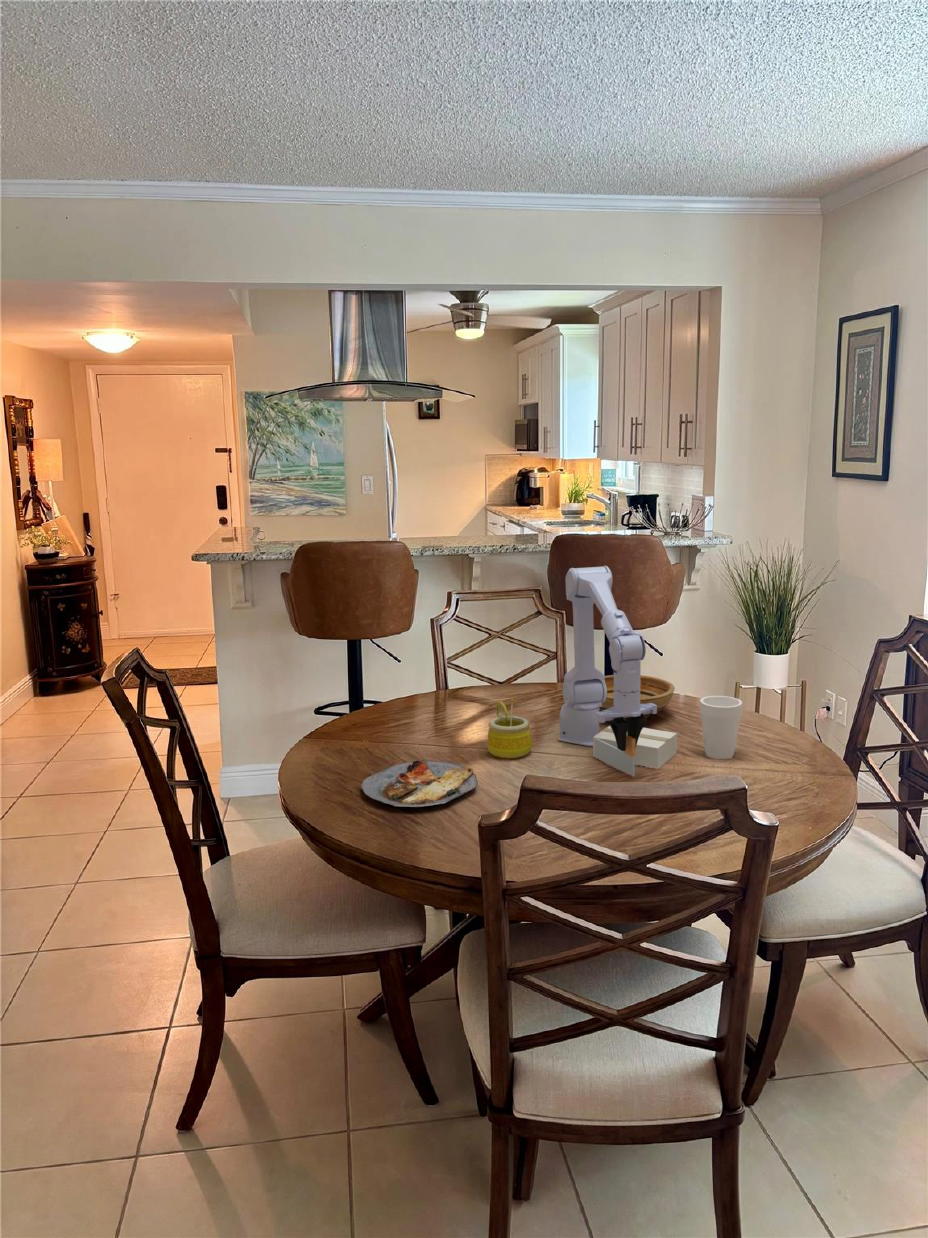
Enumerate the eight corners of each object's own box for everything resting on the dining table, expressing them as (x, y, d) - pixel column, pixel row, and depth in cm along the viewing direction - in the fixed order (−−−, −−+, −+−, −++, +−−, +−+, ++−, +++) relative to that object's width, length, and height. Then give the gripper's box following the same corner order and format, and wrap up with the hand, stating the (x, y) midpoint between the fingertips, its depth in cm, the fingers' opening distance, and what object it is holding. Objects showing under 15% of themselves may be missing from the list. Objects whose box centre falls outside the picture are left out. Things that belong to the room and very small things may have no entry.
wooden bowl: (574, 700, 254) (573, 673, 253) (657, 696, 256) (657, 670, 254) (596, 733, 225) (596, 703, 224) (689, 729, 227) (690, 699, 225)
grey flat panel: (594, 757, 207) (595, 722, 206) (597, 757, 208) (597, 722, 206) (632, 776, 195) (632, 739, 193) (635, 776, 195) (635, 738, 194)
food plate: (419, 761, 209) (419, 747, 208) (498, 784, 195) (497, 769, 194) (342, 798, 190) (340, 783, 190) (422, 826, 176) (421, 810, 175)
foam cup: (740, 749, 211) (741, 697, 209) (741, 763, 202) (743, 708, 200) (698, 746, 214) (700, 695, 211) (698, 760, 205) (699, 706, 202)
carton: (593, 757, 209) (593, 736, 208) (614, 742, 218) (614, 722, 217) (657, 769, 200) (657, 747, 199) (676, 753, 210) (676, 732, 209)
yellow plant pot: (529, 762, 207) (529, 713, 205) (483, 760, 209) (482, 711, 207) (536, 743, 219) (535, 697, 217) (492, 742, 221) (491, 696, 219)
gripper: (608, 698, 186) (608, 759, 189) (665, 689, 192) (664, 748, 194) (590, 690, 192) (590, 749, 195) (646, 681, 198) (645, 739, 201)
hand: (626, 748), depth 195 cm, fingers closed
